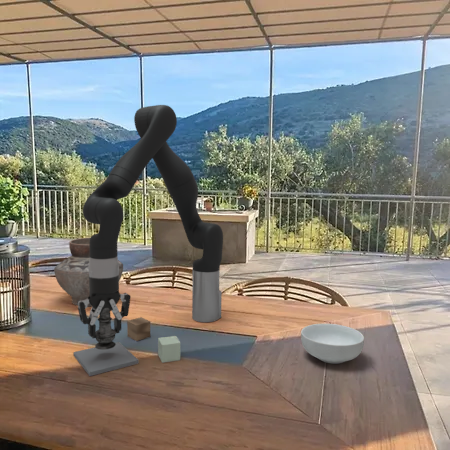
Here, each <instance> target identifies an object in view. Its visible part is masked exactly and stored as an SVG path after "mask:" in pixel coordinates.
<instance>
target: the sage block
mask: <svg viewBox="0 0 450 450" xmlns="http://www.w3.org/2000/svg"><path fill="white" fill-rule="evenodd" d="M157 339H158V340H157V350H158V351H157V355H158V357H159V359H160V362H161V363H169V362H178V361H181V341H180V339H179V338H178V337H177V336H176V335H171V336H165V337H158V338H157Z"/></svg>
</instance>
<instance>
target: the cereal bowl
mask: <svg viewBox="0 0 450 450" xmlns="http://www.w3.org/2000/svg"><path fill="white" fill-rule="evenodd" d="M300 339H301V345H302V347H303V348H304V350H305V351H306V352H307V353H308V354H309V355H310V356H312V357H315V358H317V359H318V360H319V361H322V362H324V363H327V364H342V363H345V362H349V361H351V360H354V359H356V358H358V356H359V355H361V353H362V351H363V348H364V347H365V346H364V344H365V337H364V335H363V334H362V333H361V331H359V330H357V329H355V328H353V327H349V326H346V325H342V324H336V323H315V324H309V325H307V326H305V327H303V328H302V329H301V331H300Z"/></svg>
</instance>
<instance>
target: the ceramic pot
mask: <svg viewBox="0 0 450 450" xmlns="http://www.w3.org/2000/svg"><path fill="white" fill-rule="evenodd" d="M89 243H90V237H84V238H83V237H81V238H74V239H71V240H69V244H68V245H69V251H70V253H71V255H70V256H68V257H67V258H65V259H64V260H62V261H61V262H60V263H58V264H57V265H55V267H54V268H53V271H54V276H55V279H56V281H57V283H58V285H59V286H60V288H61V289H62V290H63V291H64V292H65V293H67V294H68V295H69V297H71V303H72V305H75V306H77V307H78V305H77V301H78V300H81V301H82V300H86V299H88V297H89V294H90V292H89V261H90V249H89ZM118 264H119V282H120V281H121V277H122V276H123V271H124V264H123V262H122V261H120V260H119V259H118ZM88 307H89V308H90V307H91V308H92V306H91V304H90V303H89V304H88V305H87V308H88Z"/></svg>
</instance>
